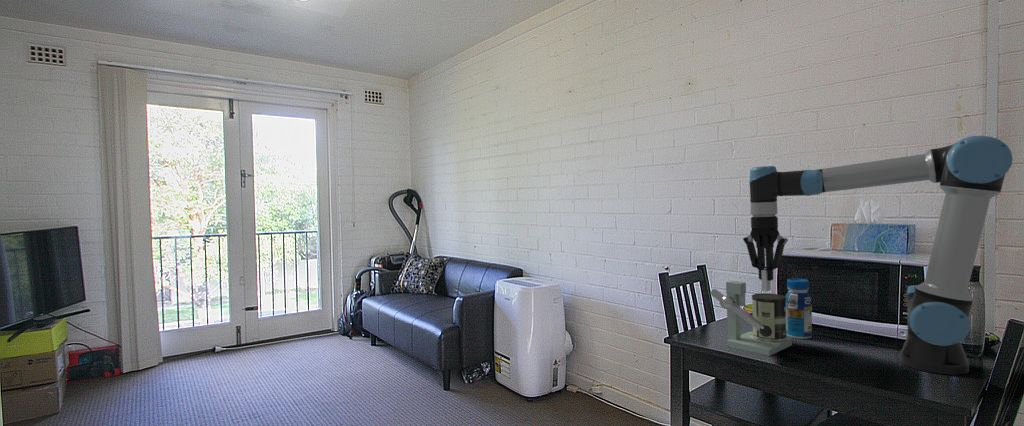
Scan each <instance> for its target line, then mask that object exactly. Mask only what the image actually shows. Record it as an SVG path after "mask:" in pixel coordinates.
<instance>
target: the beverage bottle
mask: <svg viewBox="0 0 1024 426" xmlns="http://www.w3.org/2000/svg"><path fill="white" fill-rule="evenodd" d="M786 288H787V290H788V291H787V292H786V294H785V295H784V296H785V297H786V336H787V337H792V339H793V338H794V339H799V340H801V339H802V340H804V339H806V340H807V339H810V338H812V336H813V326H812V325H813V324H812V322H813V317H812V316H813V314H812V313H813V305H812V304H811V303H812V296H811V294H810V293H809V292H808V291H809V290H810V281H809V280H808V279H806V278H795V277H794V278H788V279H787V280H786Z"/></svg>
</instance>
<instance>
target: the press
mask: <svg viewBox="0 0 1024 426" xmlns="http://www.w3.org/2000/svg"><path fill="white" fill-rule="evenodd" d="M746 284H747V283H746V282H743V281H735V280H729V281H726V282H725V289H726V290H725V292H726V296H731V297H732V298H733V299H734V301H735V304H736V305H738V306H739V307H740V308H741V307H744V306H746V294H747V285H746ZM726 316H727V317H726V318H727V319H726V321H727V322H726V323H727V333H726V334H727V339H726V347H727V346H729V347H728V348H732V349H737V350H741V351H745V352H750V353H754V354H758V355H762V356H768V357H770V356H773V355H774V354H776V353H779V352H780V351H783V350H786V349H787V348H789V347H791V346H793V341H792V340H793V337H789V336H787V335H786V338H787V339H786V340H785V341H779V342H772V341H763V340H759V339H756V338H754V337H753V330H752V331H751V330H750V331H747V332H745V333H741V317H740V316H738V315H737V314H736V313H734V312H733V311H732V310H730V309H726Z"/></svg>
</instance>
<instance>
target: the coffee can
mask: <svg viewBox="0 0 1024 426" xmlns="http://www.w3.org/2000/svg"><path fill="white" fill-rule="evenodd" d="M785 296H786V295H782V294H778V293H766V292H763V293H761V292H760V293H754V294H752V295H751V298H752V300H751V301H752V306H751V307H752V316H753V317H754V318H755V319H757V320H758V321H759V322H761V323H762V324H763V325H767V326H769V327H770V328H771V329H772V334H771V335H770V336H769V337H764V336H762V335H761V334H760V332H759V331H758V330H757V329H756V328H754V327H753V326H752V332H753V337H754V338H756V339H759V340H763V341H772V342H779V341H785V340H786V339H787V338H786V336H787V335H786V297H785Z"/></svg>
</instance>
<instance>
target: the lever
mask: <svg viewBox="0 0 1024 426" xmlns="http://www.w3.org/2000/svg"><path fill="white" fill-rule="evenodd" d="M709 294H710V296H712V297H713V298H715V300H717V301H719V305H720V307H722V309H724V310H727V309H730V310H732V311H733V312H734V313H736V314H737V315H738V316H740V319H743V320H744V321H745V322H746V323H748V324H749V325H750V326H752V328H753V327H754V328H756V329H757V330H758V331H759V332H760V334H761V335H762V336H764V337H769V336H770V335H771V334H772V329H771V328H770V327H769V326H767V325H763V324H762V323H761V322H759V321H758V320H757V319H755V318H754V317H753V315H752V314H750V313H748V312H747V311H746V310H745V309H743V308H742V307H741V306H740V307H739V306H738V305H736V304H735V301H734V299H733V298H732V297H731V296H727V295H726V296H725V295H724V294H723V293H722V292H720V291H718V290H717V289H716V288H713V289H712V290H711V291H710V292H709Z"/></svg>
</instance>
